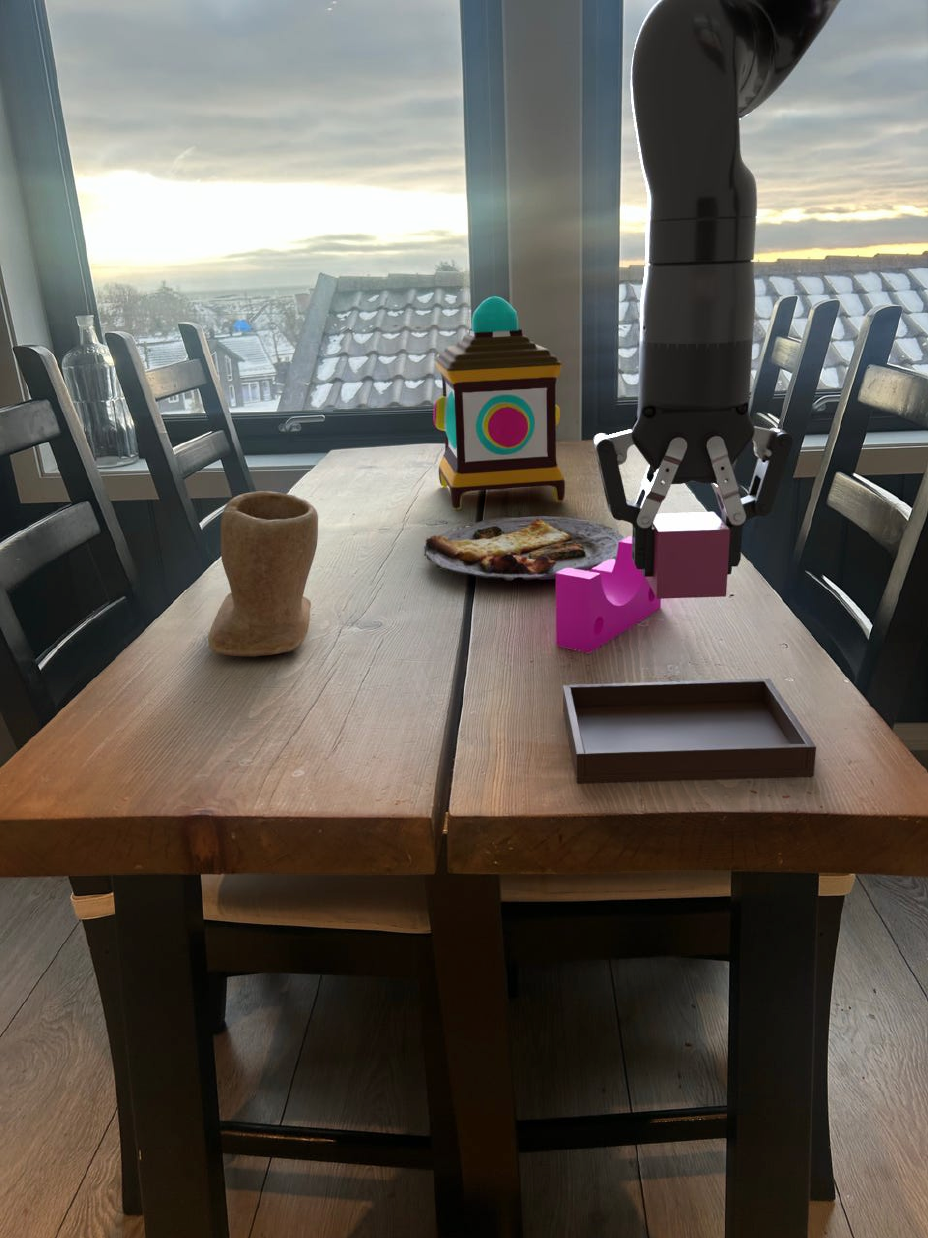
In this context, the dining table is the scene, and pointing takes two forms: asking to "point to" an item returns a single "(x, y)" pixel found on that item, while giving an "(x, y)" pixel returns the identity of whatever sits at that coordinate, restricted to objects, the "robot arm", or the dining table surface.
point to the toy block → (601, 601)
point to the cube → (690, 555)
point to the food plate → (523, 547)
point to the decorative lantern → (498, 408)
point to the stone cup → (265, 574)
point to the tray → (684, 731)
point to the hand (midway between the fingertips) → (685, 571)
